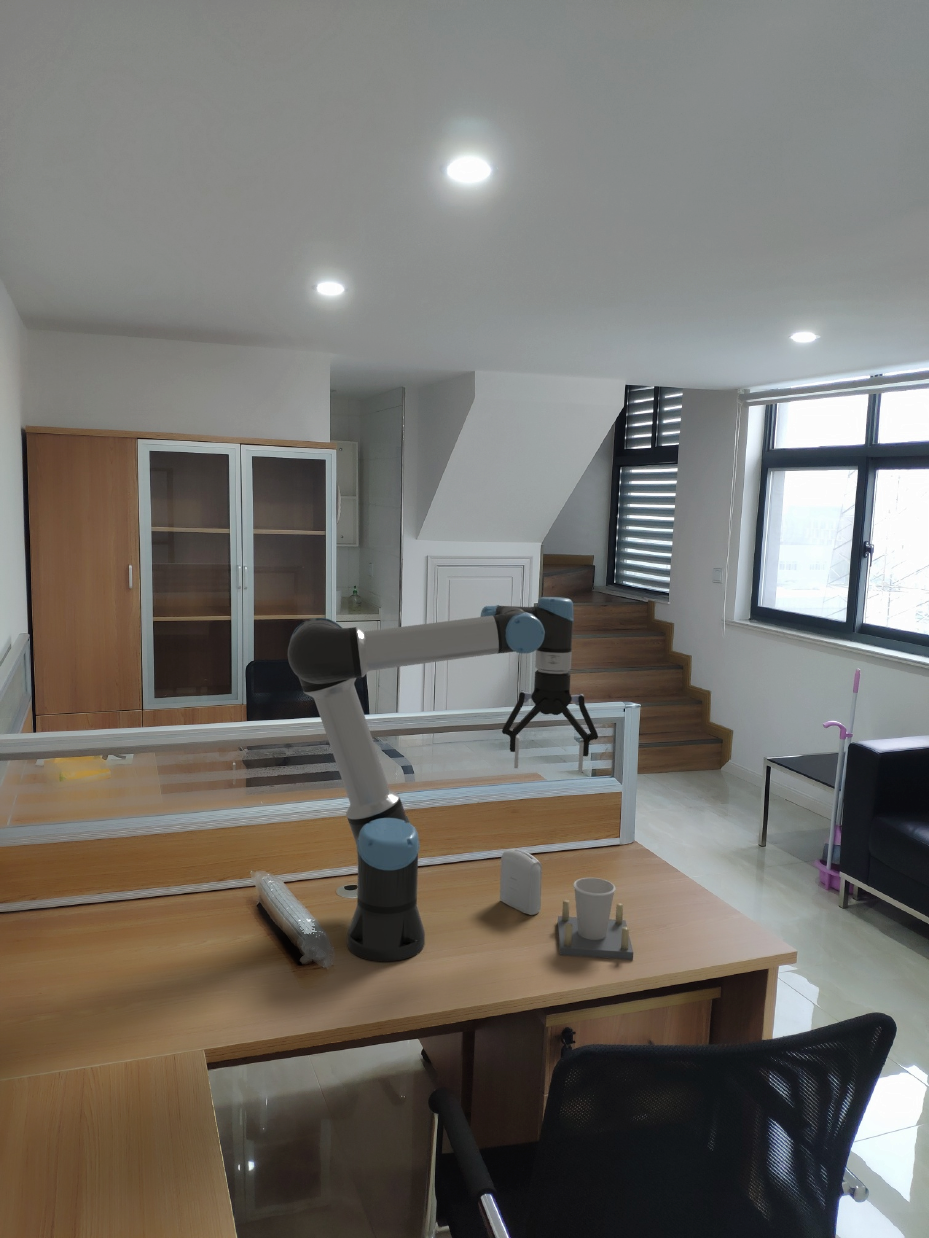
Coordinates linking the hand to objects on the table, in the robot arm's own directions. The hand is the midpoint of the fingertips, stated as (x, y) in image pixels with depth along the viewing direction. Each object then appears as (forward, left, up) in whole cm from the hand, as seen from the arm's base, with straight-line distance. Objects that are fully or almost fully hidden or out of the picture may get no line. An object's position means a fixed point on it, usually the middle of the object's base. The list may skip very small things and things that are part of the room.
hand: (548, 768), depth 188 cm
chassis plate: (+10, -14, -31) cm, 35 cm away
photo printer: (-5, 0, -31) cm, 32 cm away
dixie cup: (+10, -14, -30) cm, 34 cm away
